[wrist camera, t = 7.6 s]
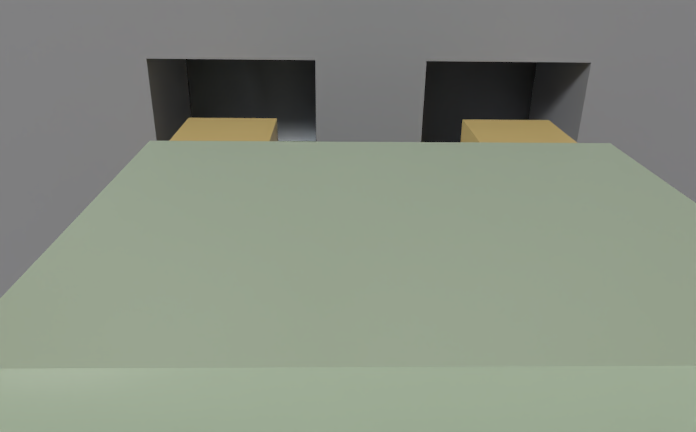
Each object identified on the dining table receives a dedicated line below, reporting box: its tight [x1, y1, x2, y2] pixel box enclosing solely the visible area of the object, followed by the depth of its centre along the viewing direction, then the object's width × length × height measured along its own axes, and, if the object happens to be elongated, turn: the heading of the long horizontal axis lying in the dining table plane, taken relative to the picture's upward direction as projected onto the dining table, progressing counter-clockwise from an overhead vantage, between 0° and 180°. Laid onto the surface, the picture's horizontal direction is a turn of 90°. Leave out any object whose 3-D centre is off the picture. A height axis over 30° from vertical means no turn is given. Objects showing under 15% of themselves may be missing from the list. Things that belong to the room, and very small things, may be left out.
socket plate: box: [0, 0, 696, 298], centre depth 14 cm, size 16×16×4 cm
